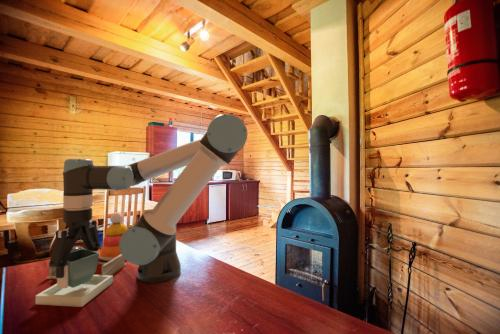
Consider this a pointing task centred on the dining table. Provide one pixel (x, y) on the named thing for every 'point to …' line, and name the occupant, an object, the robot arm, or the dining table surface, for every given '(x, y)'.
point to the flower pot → (81, 266)
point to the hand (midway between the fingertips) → (77, 278)
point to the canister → (76, 248)
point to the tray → (74, 292)
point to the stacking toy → (113, 238)
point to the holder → (107, 267)
